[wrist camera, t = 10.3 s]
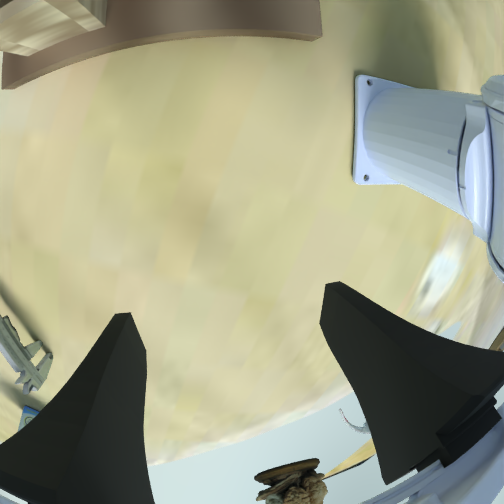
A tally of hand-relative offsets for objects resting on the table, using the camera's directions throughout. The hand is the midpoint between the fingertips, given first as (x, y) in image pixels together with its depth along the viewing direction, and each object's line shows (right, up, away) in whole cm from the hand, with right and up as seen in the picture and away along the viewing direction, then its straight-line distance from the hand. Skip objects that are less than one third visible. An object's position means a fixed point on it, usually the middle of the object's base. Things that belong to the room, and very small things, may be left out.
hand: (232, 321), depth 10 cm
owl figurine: (+9, -52, +42) cm, 67 cm away
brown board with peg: (-5, +20, -1) cm, 21 cm away
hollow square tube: (-10, +17, -2) cm, 20 cm away
